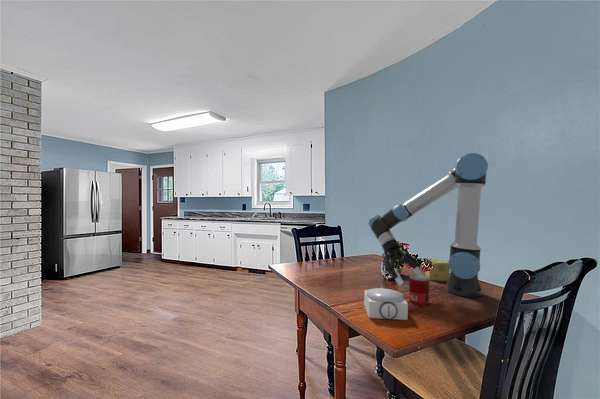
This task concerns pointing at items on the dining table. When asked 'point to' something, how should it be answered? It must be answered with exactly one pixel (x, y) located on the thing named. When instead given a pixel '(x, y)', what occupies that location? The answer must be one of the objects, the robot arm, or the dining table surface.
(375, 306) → the kitchen scale
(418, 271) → the robot arm
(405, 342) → the dining table surface
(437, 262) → the cheese
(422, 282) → the canned food
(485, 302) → the dining table surface
